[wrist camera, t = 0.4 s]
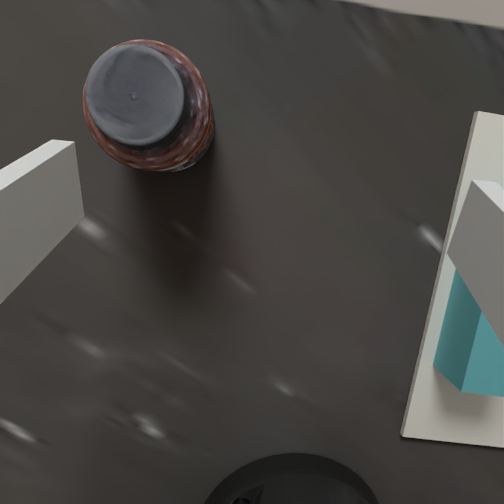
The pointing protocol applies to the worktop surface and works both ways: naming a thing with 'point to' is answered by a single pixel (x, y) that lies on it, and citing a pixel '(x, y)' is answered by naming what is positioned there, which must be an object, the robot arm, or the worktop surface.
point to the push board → (426, 375)
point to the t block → (469, 345)
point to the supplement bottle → (149, 106)
